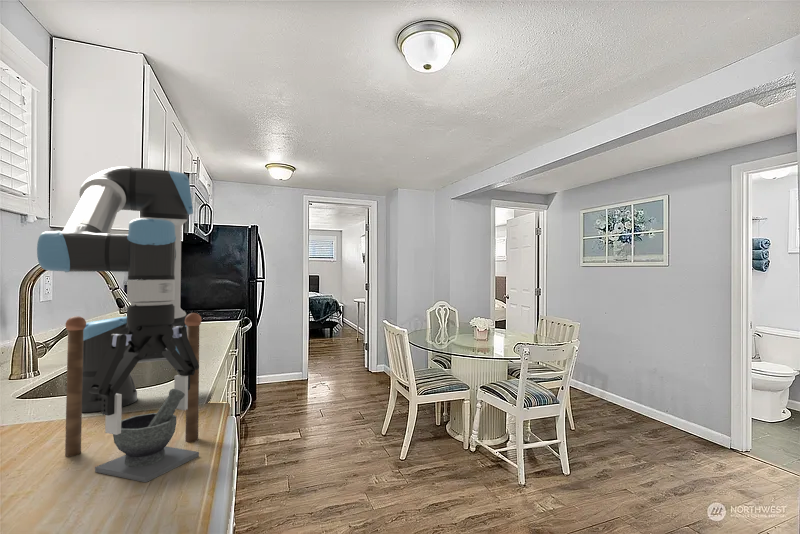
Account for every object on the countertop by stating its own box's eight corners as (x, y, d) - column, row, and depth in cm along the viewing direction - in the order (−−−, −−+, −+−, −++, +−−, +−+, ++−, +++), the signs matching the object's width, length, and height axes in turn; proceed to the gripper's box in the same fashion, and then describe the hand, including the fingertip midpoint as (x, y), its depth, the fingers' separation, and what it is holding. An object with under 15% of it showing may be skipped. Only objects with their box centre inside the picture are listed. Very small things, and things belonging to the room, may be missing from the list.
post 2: (192, 436, 89) (193, 312, 90) (203, 438, 88) (205, 312, 89) (179, 441, 86) (181, 313, 87) (191, 443, 85) (193, 313, 86)
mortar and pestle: (111, 476, 69) (113, 402, 69) (112, 457, 77) (113, 391, 77) (187, 459, 75) (188, 392, 76) (181, 443, 83) (181, 382, 83)
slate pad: (151, 448, 83) (151, 444, 83) (198, 456, 79) (198, 451, 79) (95, 471, 73) (95, 467, 73) (145, 482, 68) (145, 477, 68)
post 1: (76, 449, 82) (79, 315, 83) (87, 451, 81) (90, 315, 82) (58, 456, 79) (61, 316, 80) (69, 458, 78) (72, 316, 79)
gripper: (96, 308, 64) (93, 449, 63) (218, 300, 87) (217, 402, 87) (63, 307, 66) (60, 442, 66) (190, 299, 90) (189, 399, 89)
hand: (149, 420), depth 76 cm, fingers open, 13 cm apart
